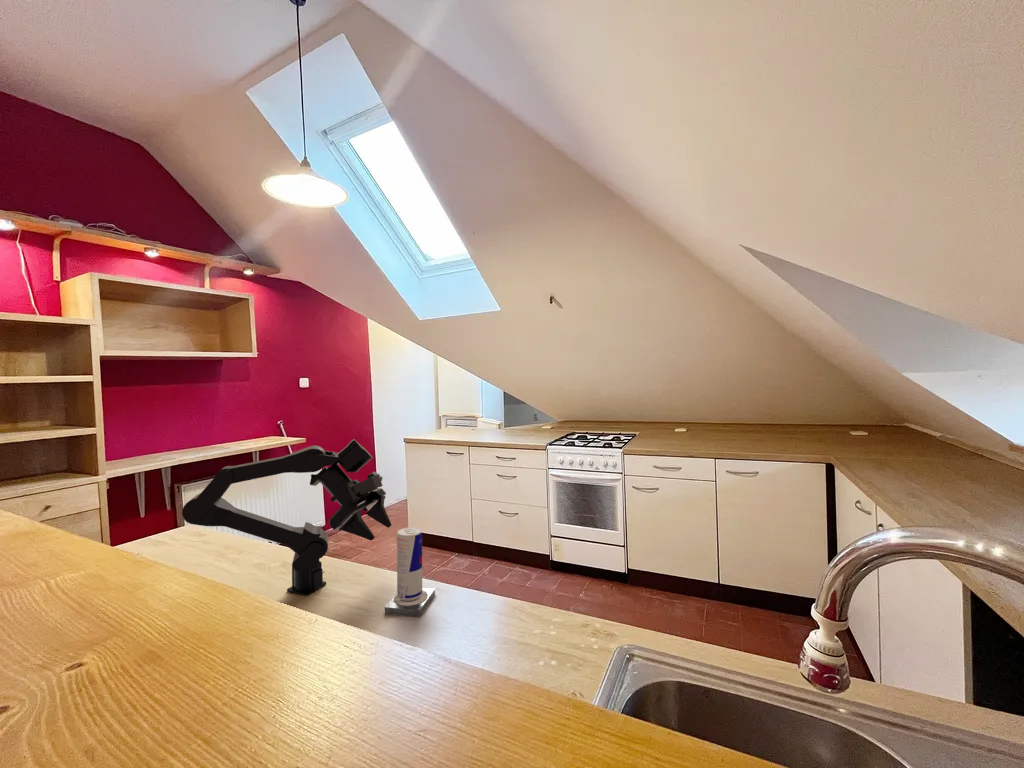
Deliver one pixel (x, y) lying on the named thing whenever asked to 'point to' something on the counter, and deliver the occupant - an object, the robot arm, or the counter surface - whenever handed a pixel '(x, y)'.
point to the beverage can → (409, 564)
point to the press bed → (410, 604)
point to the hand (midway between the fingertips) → (382, 532)
